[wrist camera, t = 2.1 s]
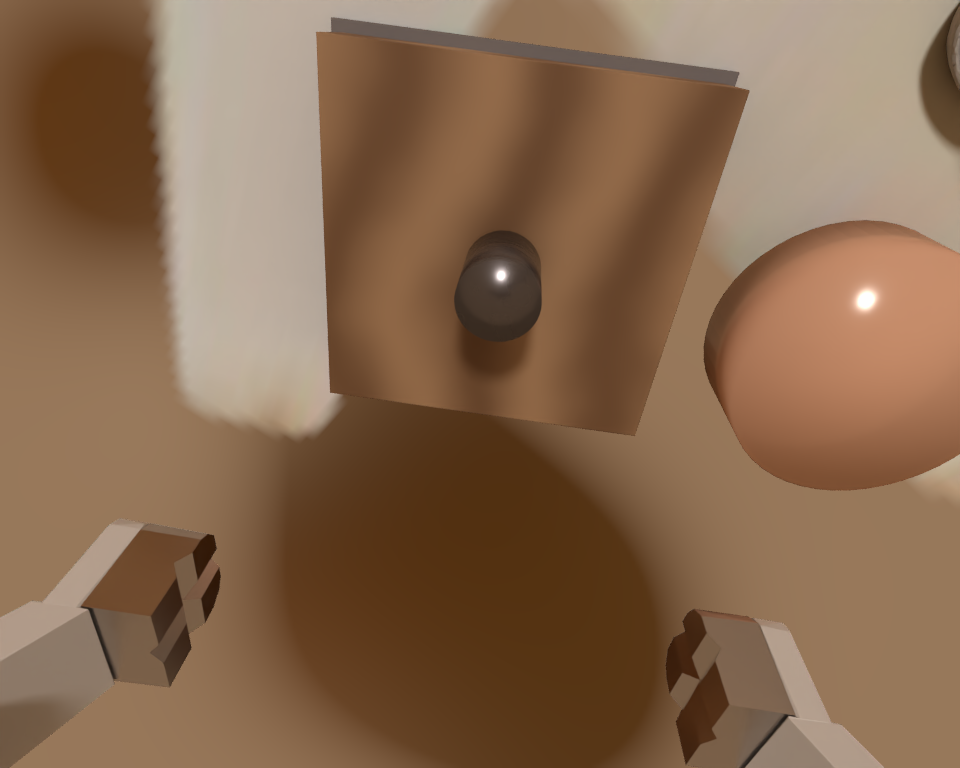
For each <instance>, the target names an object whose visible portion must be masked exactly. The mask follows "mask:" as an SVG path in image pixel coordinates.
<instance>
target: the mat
mask: <svg viewBox="0 0 960 768" xmlns="http://www.w3.org/2000/svg"><path fill="white" fill-rule="evenodd" d="M331 30H332V32H344V33H351V34H358V35H366V36H373V37H381V38H388V39H395V40H403V41H410V42H418V43H425V44H432V45H440V46H447V47H455V48H462V49H470V50H477V51H484V52H492V53H499V54H507V55H514V56H521V57H529V58H536V59H544V60H551V61H558V62H566V63H573V64H581V65H588V66H595V67H603V68H610V69H618V70H625V71H632V72H640V73H647V74H655V75H662V76H669V77H677V78H684V79H692V80H699V81H706V82H714V83H721V84H726V85H730V86H734V87H735V84H736V81H737V78H738V75H739V72H733V71H726V70H719V69H711V68H704V67H696V66H689V65H681V64H674V63H667V62H659V61H652V60H644V59H637V58H630V57H622V56H615V55H607V54H600V53H592V52H584V51H578V50H570V49H562V48H555V47H548V46H540V45H533V44H525V43H518V42H511V41H503V40H496V39H489V38H481V37H474V36H466V35H459V34H451V33H444V32H437V31H429V30H422V29H414V28H407V27H400V26H392V25H385V24H377V23H370V22H362V21H355V20H348V19H340V18H332V17H331Z"/></svg>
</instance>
